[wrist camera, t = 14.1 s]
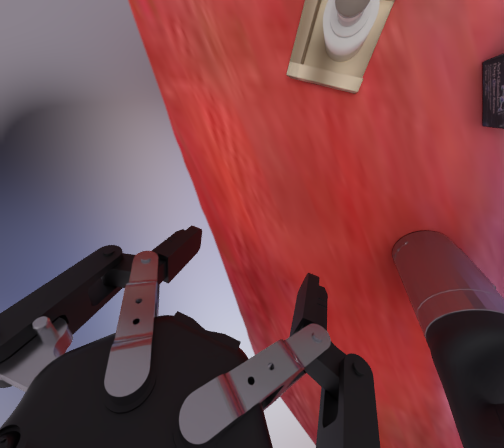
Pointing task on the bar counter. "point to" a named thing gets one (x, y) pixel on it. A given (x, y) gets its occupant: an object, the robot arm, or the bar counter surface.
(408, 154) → the bar counter surface
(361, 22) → the bottle
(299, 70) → the rest
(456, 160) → the bar counter surface
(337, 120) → the bar counter surface
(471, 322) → the robot arm
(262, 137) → the bar counter surface
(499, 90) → the box
